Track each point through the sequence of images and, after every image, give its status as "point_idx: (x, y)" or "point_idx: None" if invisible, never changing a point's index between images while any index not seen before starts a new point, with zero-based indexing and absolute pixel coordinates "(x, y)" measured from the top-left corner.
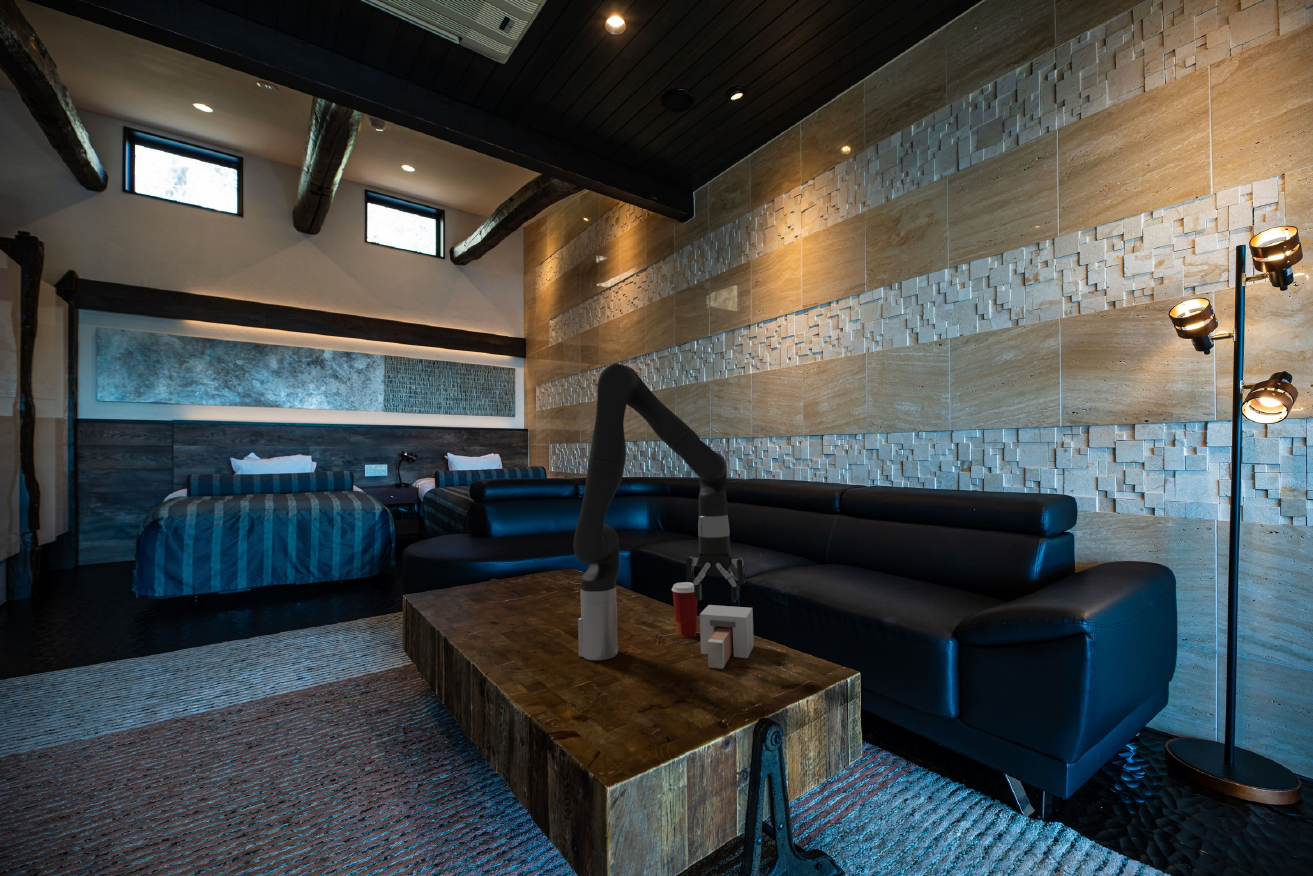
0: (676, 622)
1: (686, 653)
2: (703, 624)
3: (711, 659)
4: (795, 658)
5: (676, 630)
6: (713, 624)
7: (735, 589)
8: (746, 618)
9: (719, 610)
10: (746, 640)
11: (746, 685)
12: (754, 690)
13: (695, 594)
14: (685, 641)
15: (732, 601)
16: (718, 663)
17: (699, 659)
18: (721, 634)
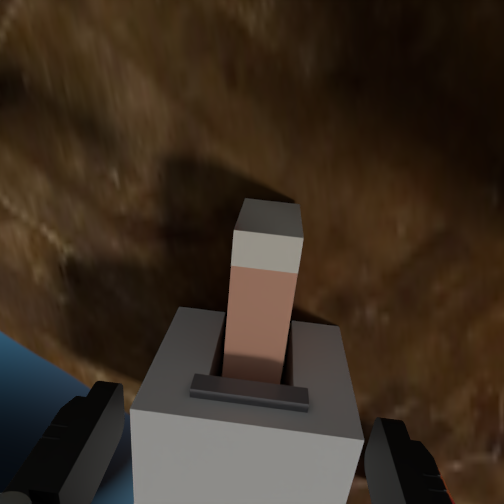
0: (450, 496)
1: (390, 324)
2: (339, 400)
3: (286, 211)
4: (38, 322)
5: (440, 473)
6: (292, 390)
7: (30, 475)
8: (132, 408)
9: (272, 488)
10: (164, 342)
11: (140, 71)
12: (103, 27)
13: (428, 466)
14: (400, 416)
15: (109, 384)
16: (259, 204)
17: (339, 279)
18: (251, 332)
